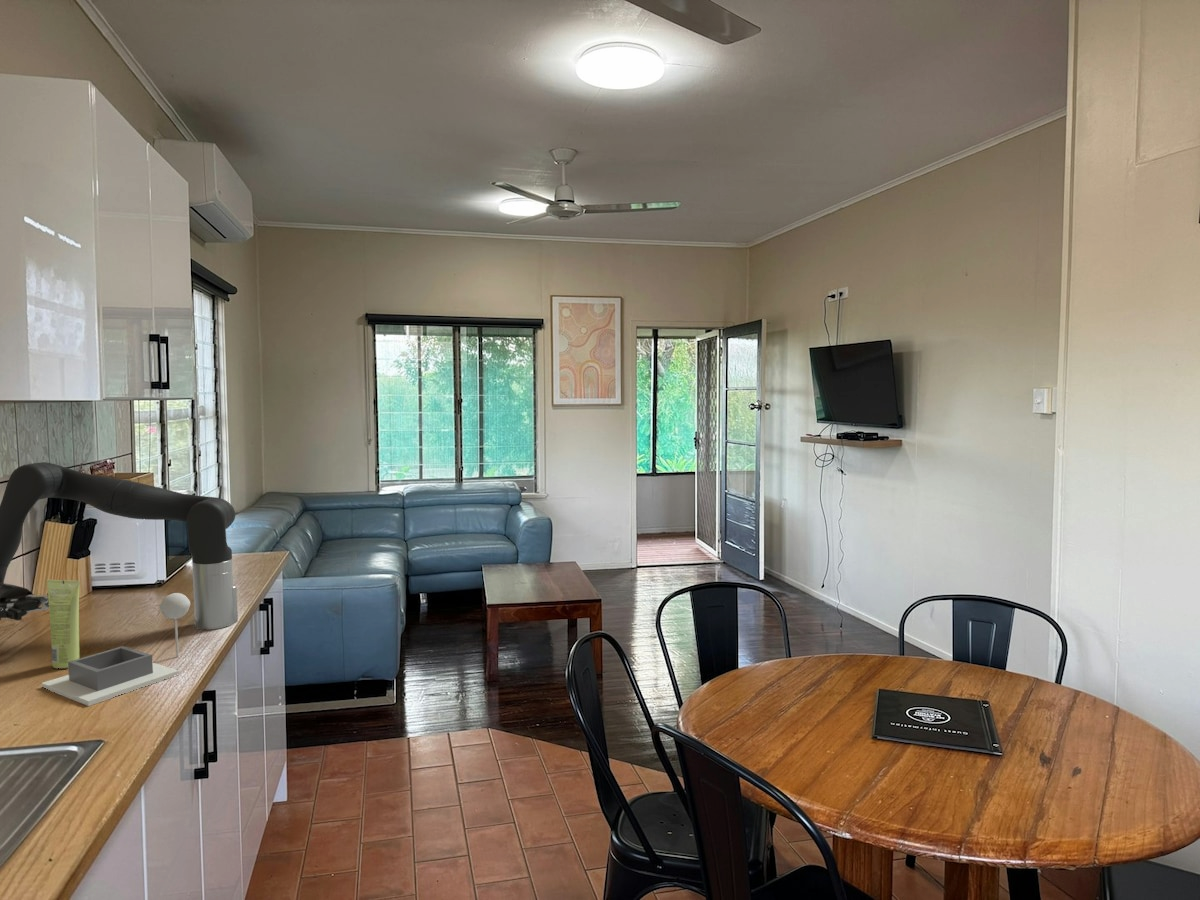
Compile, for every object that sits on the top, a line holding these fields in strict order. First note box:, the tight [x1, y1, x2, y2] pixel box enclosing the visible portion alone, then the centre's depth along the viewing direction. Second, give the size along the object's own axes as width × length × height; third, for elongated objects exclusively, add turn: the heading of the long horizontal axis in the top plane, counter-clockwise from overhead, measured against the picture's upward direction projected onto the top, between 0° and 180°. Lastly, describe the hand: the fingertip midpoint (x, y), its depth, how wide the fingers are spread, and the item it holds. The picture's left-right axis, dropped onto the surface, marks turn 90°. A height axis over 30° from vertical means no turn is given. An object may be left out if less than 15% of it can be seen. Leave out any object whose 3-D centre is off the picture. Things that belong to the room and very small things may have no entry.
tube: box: [46, 579, 81, 669], centre depth 165 cm, size 6×5×20 cm
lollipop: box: [159, 592, 191, 657], centre depth 171 cm, size 6×6×15 cm
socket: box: [41, 645, 180, 707], centre depth 157 cm, size 18×18×5 cm
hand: (41, 610), depth 170 cm, fingers open, 8 cm apart
